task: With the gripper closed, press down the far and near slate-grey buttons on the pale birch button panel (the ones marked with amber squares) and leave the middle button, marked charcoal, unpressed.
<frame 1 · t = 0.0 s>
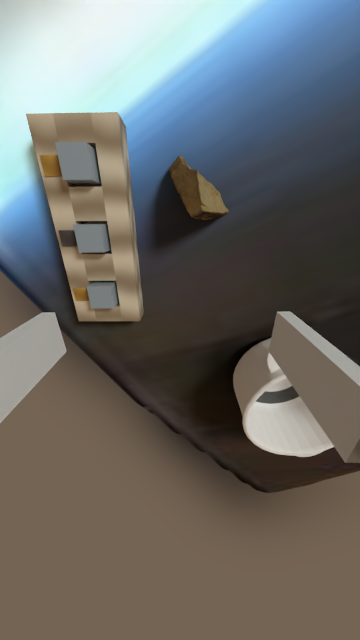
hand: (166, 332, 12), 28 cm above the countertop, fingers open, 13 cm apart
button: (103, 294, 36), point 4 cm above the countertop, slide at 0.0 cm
middle button: (93, 238, 32), point 4 cm above the countertop, slide at 0.0 cm
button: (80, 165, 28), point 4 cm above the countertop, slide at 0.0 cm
button panel: (103, 236, 36), on the countertop
rock: (198, 190, 33), on the countertop
pot: (275, 368, 48), on the countertop
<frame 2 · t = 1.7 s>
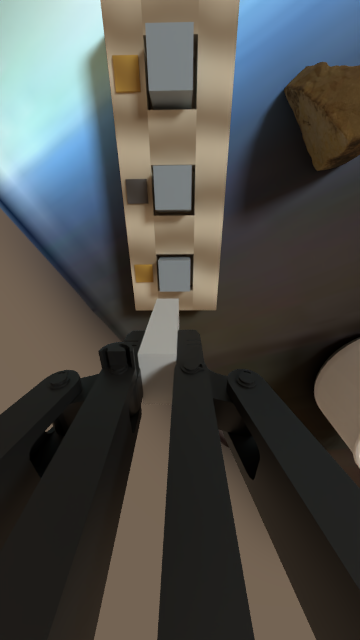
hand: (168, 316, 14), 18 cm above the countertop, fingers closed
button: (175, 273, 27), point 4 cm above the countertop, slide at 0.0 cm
middle button: (173, 190, 23), point 4 cm above the countertop, slide at 0.0 cm
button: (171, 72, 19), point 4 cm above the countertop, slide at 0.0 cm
button panel: (174, 196, 27), on the countertop
rock: (315, 126, 24), on the countertop
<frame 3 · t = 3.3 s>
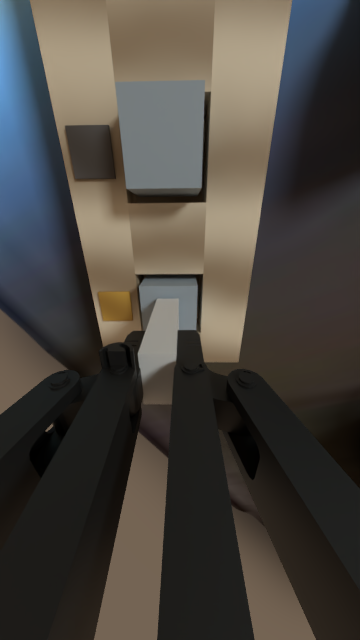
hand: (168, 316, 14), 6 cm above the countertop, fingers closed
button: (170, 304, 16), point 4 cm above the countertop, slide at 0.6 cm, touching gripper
middle button: (164, 151, 11), point 4 cm above the countertop, slide at 0.0 cm
button panel: (169, 170, 15), on the countertop
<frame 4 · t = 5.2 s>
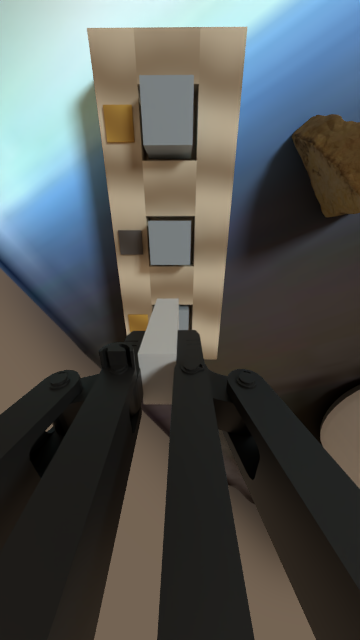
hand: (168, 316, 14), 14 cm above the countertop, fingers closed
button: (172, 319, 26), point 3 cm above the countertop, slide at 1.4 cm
middle button: (170, 242, 21), point 4 cm above the countertop, slide at 0.0 cm
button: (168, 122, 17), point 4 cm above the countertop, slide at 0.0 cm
button panel: (172, 240, 25), on the countertop
rock: (324, 172, 22), on the countertop
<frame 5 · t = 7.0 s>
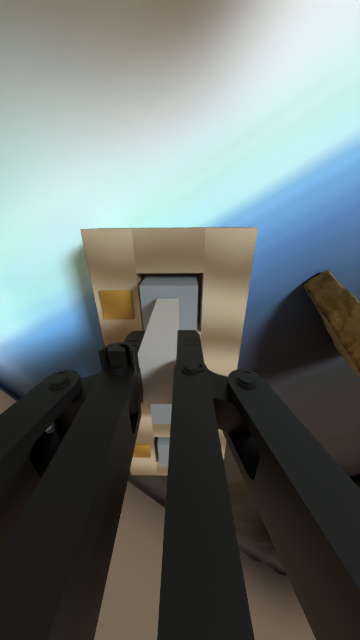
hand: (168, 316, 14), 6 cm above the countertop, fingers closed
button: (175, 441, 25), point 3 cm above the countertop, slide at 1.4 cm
middle button: (173, 394, 20), point 4 cm above the countertop, slide at 0.0 cm
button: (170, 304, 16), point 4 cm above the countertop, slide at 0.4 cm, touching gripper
button panel: (175, 366, 23), on the countertop
rock: (337, 311, 20), on the countertop
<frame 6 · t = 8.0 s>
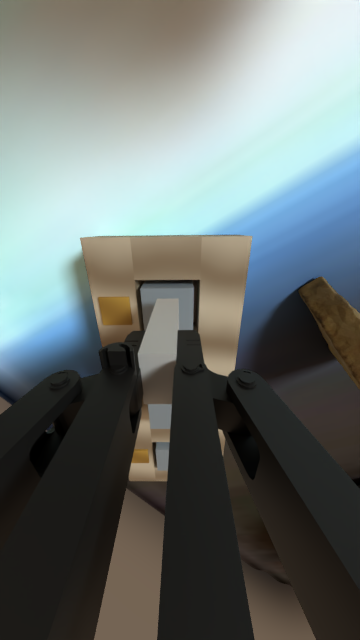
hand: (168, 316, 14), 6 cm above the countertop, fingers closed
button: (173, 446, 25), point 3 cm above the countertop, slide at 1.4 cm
middle button: (171, 399, 20), point 4 cm above the countertop, slide at 0.0 cm
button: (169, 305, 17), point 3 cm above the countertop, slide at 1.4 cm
button panel: (173, 371, 24), on the countertop
rock: (332, 316, 21), on the countertop
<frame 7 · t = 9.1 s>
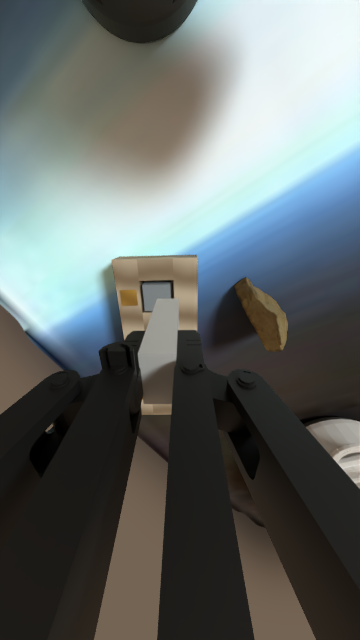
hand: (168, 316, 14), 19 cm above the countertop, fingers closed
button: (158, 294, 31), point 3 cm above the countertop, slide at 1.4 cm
button panel: (163, 339, 37), on the countertop
rock: (258, 301, 34), on the countertop
pot: (318, 440, 49), on the countertop
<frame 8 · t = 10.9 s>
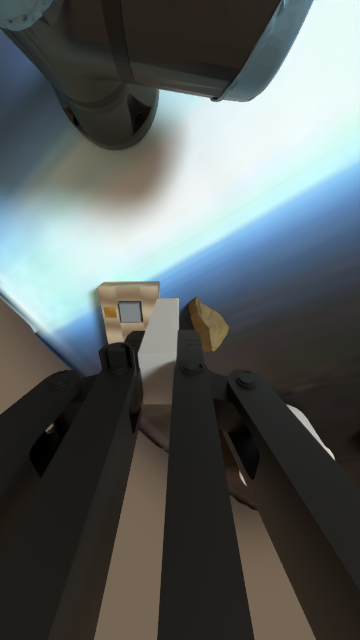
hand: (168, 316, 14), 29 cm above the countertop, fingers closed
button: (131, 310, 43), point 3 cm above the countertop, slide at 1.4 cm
button panel: (138, 340, 49), on the countertop
rock: (208, 314, 46), on the countertop
pot: (265, 421, 62), on the countertop
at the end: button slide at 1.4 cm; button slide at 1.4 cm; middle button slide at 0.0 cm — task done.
